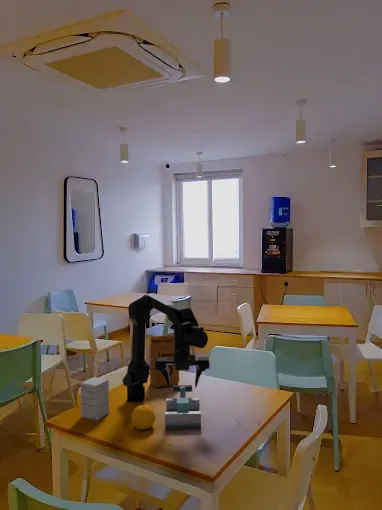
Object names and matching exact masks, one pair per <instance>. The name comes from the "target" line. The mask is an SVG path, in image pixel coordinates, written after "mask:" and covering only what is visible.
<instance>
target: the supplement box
mask: <svg viewBox="0 0 382 510" xmlns="http://www.w3.org/2000/svg"><path fill="white" fill-rule="evenodd" d="M109 385H110V384H109V379H107V378H100V377H91V378H89V379H86V380H84V381H83V382H81V383H80V408H81V409H80V411H81V413H80V414H81V418H84V419H89V420H94V421H99V420H100V419H102V418H103V417H105V416H107V415H108V414H110V396H109V395H110V394H109V393H110V392H109V390H110V389H109V387H110V386H109Z"/></svg>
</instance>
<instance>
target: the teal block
mask: <svg viewBox="0 0 382 510" xmlns="http://www.w3.org/2000/svg"><path fill="white" fill-rule="evenodd" d="M176 398H177V412H185V411H189V402H188V398H189V397H186V398H180V397H176Z"/></svg>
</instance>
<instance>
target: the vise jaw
mask: <svg viewBox="0 0 382 510" xmlns="http://www.w3.org/2000/svg"><path fill="white" fill-rule="evenodd" d="M172 387H173V389H172V390H173V393H179V398H188V402H189V410H191V409H199V410H200V397H186V393H189V392H190V393H193V384H183V385H181V384H180V385H179V384H178V385H173V386H172ZM177 398H178V397H174V398H173V397H172V398H168V397H167V398H166V411H167V410H177Z"/></svg>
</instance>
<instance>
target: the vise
mask: <svg viewBox="0 0 382 510" xmlns="http://www.w3.org/2000/svg"><path fill="white" fill-rule="evenodd" d="M201 412H202V411H201V410H200V408H199V409H191V410H189V411H185V412H177V410H167V409H166V410H165V412H164V416H165V417H164V430H165V431H186V430H189V431H192V430H194V431H195V430H199V431H200V430H202V413H201Z"/></svg>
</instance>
